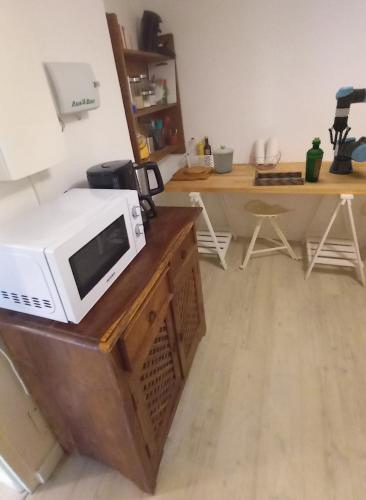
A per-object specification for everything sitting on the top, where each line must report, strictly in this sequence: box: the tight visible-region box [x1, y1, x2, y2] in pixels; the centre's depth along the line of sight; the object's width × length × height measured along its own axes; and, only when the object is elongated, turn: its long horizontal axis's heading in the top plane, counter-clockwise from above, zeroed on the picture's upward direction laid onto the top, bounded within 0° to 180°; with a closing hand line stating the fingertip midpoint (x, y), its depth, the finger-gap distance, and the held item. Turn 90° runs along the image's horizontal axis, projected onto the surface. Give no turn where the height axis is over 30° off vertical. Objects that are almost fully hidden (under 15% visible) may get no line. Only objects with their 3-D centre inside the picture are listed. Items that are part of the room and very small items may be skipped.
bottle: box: [304, 137, 325, 183], centre depth 194 cm, size 11×11×28 cm
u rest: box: [254, 169, 305, 187], centre depth 205 cm, size 32×17×6 cm, turn 77°
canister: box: [211, 144, 235, 174], centre depth 236 cm, size 18×18×21 cm
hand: (335, 155), depth 190 cm, fingers closed
